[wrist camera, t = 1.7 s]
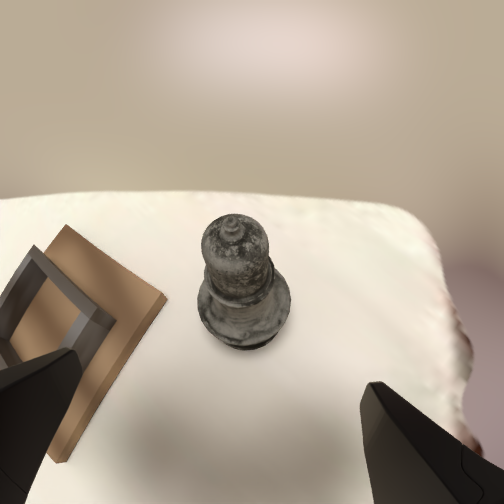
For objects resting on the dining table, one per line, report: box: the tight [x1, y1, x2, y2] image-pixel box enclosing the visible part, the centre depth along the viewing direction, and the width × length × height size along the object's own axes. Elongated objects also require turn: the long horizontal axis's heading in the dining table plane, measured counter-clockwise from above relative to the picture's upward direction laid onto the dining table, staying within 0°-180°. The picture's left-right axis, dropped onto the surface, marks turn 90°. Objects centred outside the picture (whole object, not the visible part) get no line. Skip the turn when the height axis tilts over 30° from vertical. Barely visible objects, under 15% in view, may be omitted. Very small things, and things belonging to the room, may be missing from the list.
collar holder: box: [0, 224, 167, 463], centre depth 17 cm, size 18×14×4 cm
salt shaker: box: [197, 214, 291, 350], centre depth 15 cm, size 6×6×12 cm
